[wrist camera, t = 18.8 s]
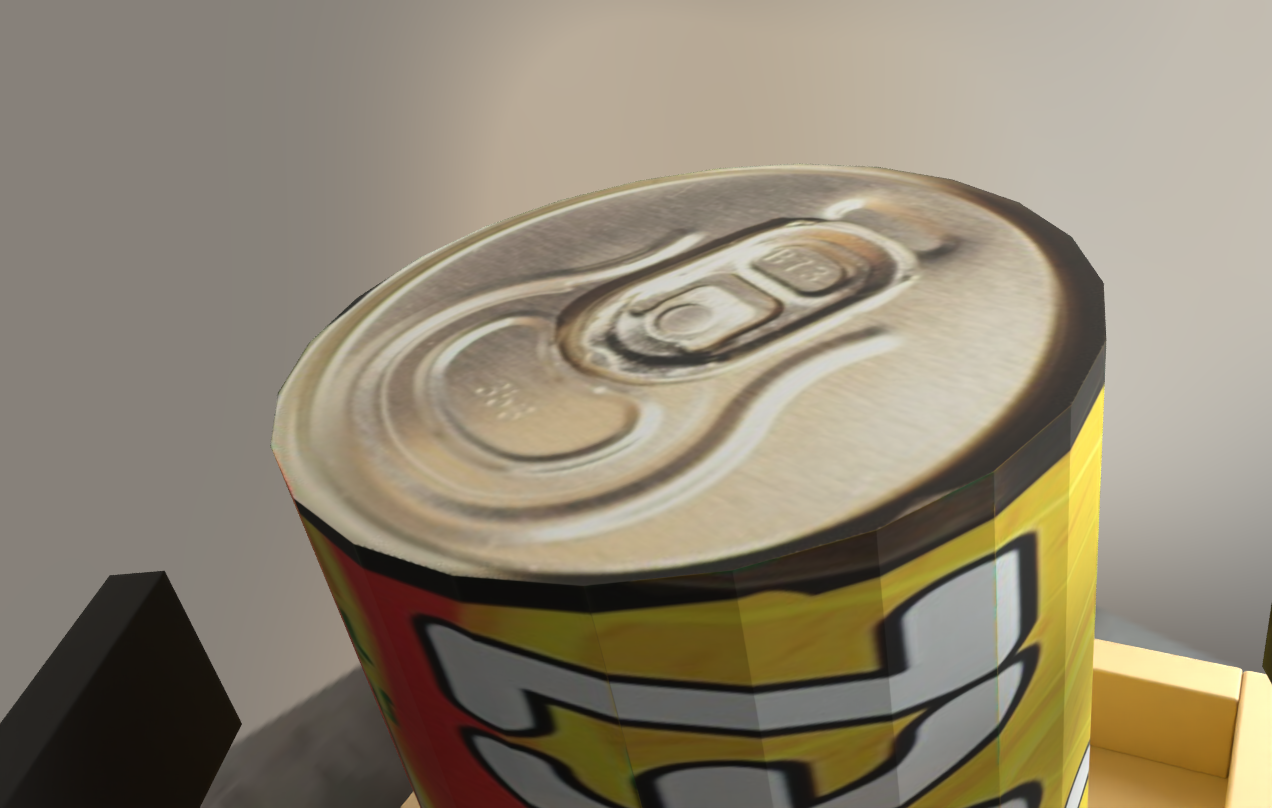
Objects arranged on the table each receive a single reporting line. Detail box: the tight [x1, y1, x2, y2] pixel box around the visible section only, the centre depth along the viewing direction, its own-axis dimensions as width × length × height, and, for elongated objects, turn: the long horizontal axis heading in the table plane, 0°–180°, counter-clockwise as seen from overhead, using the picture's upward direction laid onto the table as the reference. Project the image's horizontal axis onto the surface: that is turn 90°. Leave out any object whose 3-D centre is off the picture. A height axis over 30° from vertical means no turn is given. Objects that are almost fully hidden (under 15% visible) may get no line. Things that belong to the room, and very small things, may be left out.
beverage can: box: [270, 164, 1106, 808], centre depth 16 cm, size 9×9×12 cm
